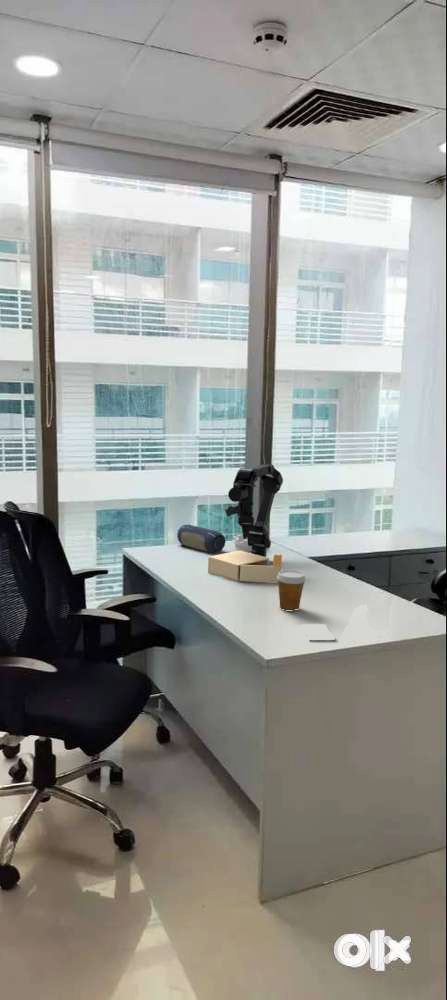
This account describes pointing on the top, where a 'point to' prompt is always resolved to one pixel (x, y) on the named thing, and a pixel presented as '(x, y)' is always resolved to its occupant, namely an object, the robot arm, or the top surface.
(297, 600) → the disposable coffee cup
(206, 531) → the portable speaker
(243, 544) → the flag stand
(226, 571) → the carton
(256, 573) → the carton flap
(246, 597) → the top surface
